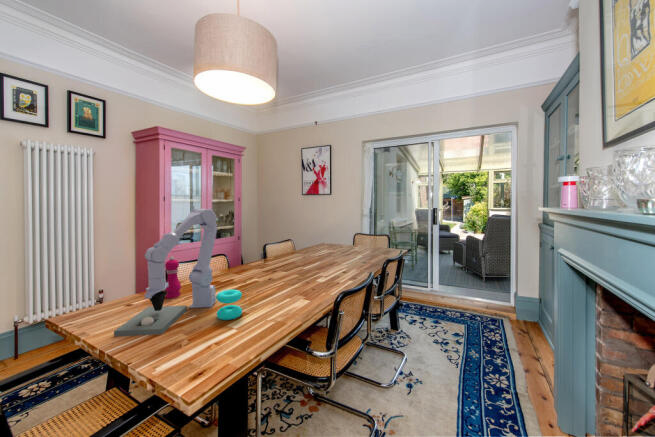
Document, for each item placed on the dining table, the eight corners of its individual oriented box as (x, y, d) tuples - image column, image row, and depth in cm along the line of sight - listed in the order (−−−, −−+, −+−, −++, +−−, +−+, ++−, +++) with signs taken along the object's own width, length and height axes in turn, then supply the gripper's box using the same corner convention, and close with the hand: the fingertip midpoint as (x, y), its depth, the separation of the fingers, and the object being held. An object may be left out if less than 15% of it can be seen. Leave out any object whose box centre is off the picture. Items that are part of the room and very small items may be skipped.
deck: (187, 310, 120) (186, 305, 120) (162, 334, 98) (161, 328, 98) (148, 311, 119) (148, 306, 118) (114, 336, 97) (113, 330, 97)
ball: (149, 320, 101) (150, 330, 102) (155, 314, 105) (156, 324, 106) (138, 320, 101) (139, 329, 102) (144, 314, 105) (145, 323, 106)
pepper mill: (161, 297, 136) (159, 257, 134) (174, 293, 142) (173, 254, 141) (171, 299, 133) (170, 258, 132) (184, 294, 140) (183, 255, 138)
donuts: (213, 291, 115) (238, 287, 121) (214, 314, 116) (238, 309, 121) (218, 298, 107) (244, 293, 112) (219, 323, 107) (245, 317, 113)
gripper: (155, 272, 117) (156, 303, 118) (135, 282, 103) (137, 318, 104) (173, 272, 118) (174, 303, 119) (155, 282, 104) (156, 317, 104)
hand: (158, 310), depth 111 cm, fingers closed
